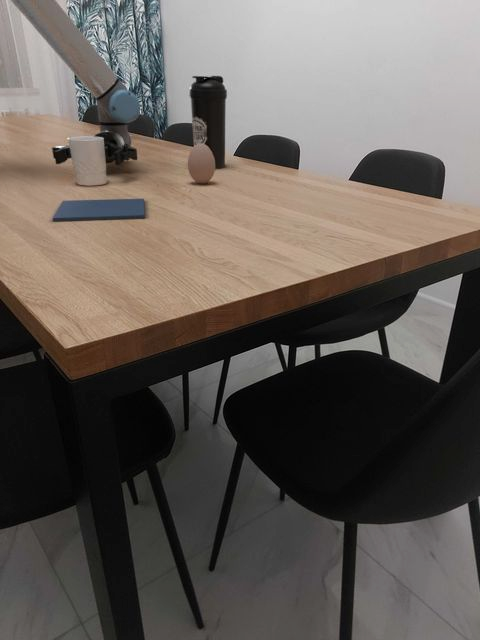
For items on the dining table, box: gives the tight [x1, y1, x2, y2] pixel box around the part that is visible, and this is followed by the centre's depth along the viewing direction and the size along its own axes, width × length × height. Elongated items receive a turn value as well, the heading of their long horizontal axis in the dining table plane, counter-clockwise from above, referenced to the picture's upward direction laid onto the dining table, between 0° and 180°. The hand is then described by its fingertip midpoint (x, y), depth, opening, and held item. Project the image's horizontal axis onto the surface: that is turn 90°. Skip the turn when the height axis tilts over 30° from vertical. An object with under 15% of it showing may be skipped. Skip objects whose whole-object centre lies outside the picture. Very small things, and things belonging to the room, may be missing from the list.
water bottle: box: [188, 75, 228, 170], centre depth 139 cm, size 10×10×23 cm
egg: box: [187, 143, 216, 185], centre depth 120 cm, size 7×7×9 cm
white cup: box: [67, 135, 108, 187], centre depth 117 cm, size 8×8×10 cm
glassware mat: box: [52, 198, 146, 222], centre depth 97 cm, size 16×14×1 cm
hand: (86, 158), depth 115 cm, fingers open, 13 cm apart
